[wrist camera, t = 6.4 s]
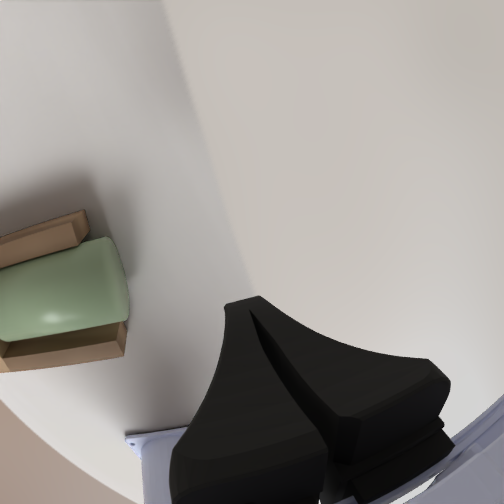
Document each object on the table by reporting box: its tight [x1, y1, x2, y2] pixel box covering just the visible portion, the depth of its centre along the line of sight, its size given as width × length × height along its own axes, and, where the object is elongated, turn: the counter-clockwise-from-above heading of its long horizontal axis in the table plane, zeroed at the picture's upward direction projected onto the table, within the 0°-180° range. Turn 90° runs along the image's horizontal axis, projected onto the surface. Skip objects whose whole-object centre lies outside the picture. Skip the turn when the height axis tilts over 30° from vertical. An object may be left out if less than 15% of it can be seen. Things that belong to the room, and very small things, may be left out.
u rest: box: [0, 210, 127, 373], centre depth 14 cm, size 8×10×2 cm
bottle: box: [0, 237, 129, 342], centre depth 14 cm, size 4×4×10 cm
